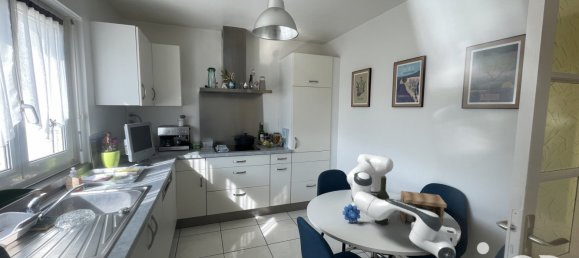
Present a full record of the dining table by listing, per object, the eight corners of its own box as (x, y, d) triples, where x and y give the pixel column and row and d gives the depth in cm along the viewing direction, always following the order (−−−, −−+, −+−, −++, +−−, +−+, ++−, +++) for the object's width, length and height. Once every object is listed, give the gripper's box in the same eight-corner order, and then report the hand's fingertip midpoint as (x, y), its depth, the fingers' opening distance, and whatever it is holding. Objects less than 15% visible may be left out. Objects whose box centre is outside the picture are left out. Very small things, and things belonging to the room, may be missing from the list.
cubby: (403, 226, 144) (404, 199, 142) (399, 215, 159) (401, 190, 158) (444, 232, 137) (446, 204, 136) (436, 220, 152) (438, 194, 151)
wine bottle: (372, 218, 153) (374, 174, 151) (385, 219, 153) (388, 174, 150) (376, 225, 145) (379, 177, 142) (390, 225, 144) (393, 178, 142)
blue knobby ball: (344, 226, 143) (345, 207, 142) (341, 221, 150) (341, 202, 149) (362, 225, 144) (363, 206, 143) (358, 220, 151) (359, 202, 150)
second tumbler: (404, 220, 151) (405, 204, 150) (403, 216, 157) (404, 200, 156) (415, 222, 149) (416, 205, 148) (413, 218, 155) (414, 202, 154)
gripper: (413, 238, 120) (408, 225, 133) (459, 246, 114) (450, 232, 127) (413, 226, 120) (409, 215, 133) (460, 234, 113) (451, 221, 126)
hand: (429, 223), depth 130 cm, fingers open, 8 cm apart
